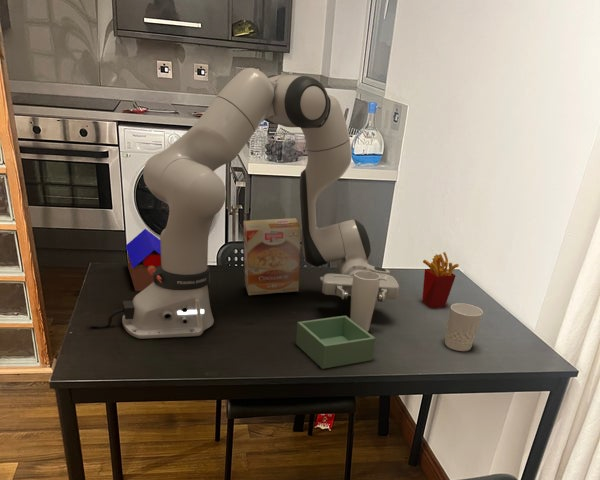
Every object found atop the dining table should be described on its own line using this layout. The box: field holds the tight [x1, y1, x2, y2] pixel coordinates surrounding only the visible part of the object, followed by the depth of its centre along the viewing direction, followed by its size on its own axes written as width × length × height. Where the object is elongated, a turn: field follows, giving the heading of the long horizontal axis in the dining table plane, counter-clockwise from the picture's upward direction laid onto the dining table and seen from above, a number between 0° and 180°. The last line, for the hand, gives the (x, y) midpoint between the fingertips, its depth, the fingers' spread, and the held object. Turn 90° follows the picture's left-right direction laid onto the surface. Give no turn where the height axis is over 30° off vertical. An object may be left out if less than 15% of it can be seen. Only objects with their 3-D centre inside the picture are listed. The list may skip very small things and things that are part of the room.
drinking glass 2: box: [349, 271, 380, 333], centre depth 153 cm, size 7×7×15 cm
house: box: [125, 228, 161, 292], centre depth 173 cm, size 12×20×12 cm, turn 19°
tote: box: [295, 315, 377, 370], centre depth 143 cm, size 14×14×6 cm
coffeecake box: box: [243, 217, 302, 296], centre depth 168 cm, size 15×7×20 cm, turn 102°
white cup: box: [444, 302, 484, 352], centre depth 151 cm, size 8×8×10 cm
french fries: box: [421, 251, 460, 309], centre depth 173 cm, size 9×8×15 cm
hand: (363, 297), depth 152 cm, fingers open, 8 cm apart
